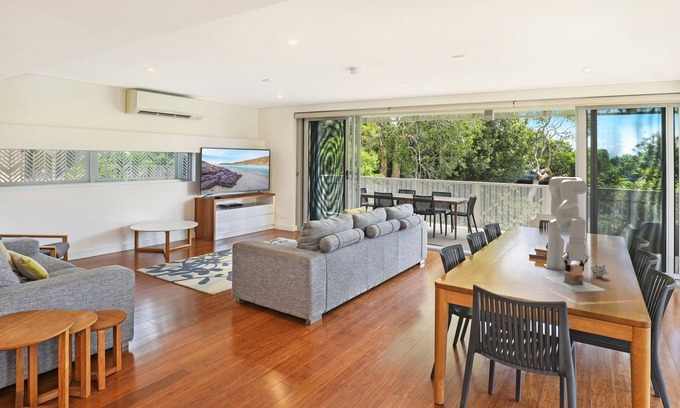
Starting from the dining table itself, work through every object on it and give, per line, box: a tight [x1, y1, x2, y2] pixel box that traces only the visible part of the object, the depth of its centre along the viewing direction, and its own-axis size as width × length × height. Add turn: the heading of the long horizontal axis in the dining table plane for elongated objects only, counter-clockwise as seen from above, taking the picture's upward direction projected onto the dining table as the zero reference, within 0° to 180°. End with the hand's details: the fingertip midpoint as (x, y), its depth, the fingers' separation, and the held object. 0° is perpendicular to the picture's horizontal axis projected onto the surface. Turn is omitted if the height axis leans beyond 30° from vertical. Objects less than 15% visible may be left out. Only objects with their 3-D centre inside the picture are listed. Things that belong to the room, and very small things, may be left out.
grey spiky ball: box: [589, 263, 609, 279], centre depth 254 cm, size 9×8×10 cm
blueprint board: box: [543, 275, 606, 292], centre depth 237 cm, size 18×28×1 cm, turn 9°
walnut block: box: [564, 272, 584, 285], centre depth 237 cm, size 6×6×5 cm
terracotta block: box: [565, 263, 583, 276], centre depth 237 cm, size 6×6×5 cm
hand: (574, 270), depth 237 cm, fingers open, 8 cm apart
